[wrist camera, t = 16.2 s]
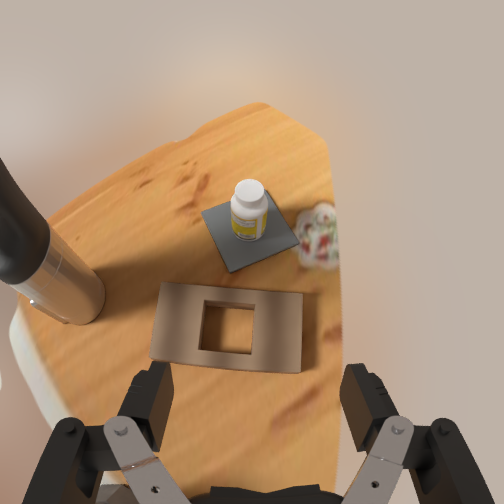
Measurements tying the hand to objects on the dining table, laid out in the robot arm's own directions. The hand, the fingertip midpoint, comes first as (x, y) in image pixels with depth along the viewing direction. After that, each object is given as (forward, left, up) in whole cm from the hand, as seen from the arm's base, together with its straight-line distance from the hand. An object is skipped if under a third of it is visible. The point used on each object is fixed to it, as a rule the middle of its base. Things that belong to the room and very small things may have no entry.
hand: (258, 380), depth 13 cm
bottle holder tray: (+1, +9, -29) cm, 30 cm away
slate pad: (+11, +23, -29) cm, 38 cm away
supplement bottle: (+11, +23, -28) cm, 38 cm away
